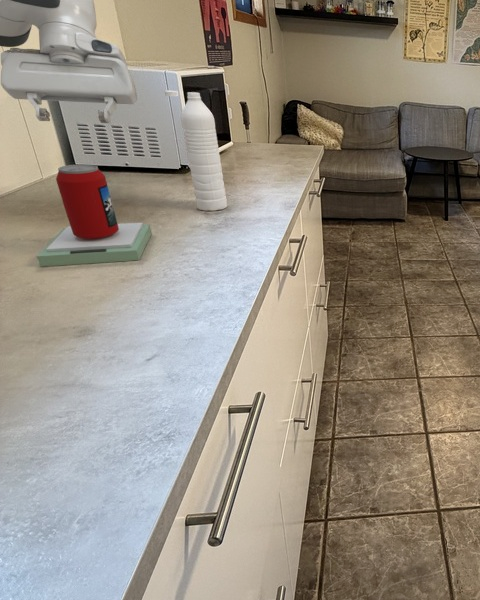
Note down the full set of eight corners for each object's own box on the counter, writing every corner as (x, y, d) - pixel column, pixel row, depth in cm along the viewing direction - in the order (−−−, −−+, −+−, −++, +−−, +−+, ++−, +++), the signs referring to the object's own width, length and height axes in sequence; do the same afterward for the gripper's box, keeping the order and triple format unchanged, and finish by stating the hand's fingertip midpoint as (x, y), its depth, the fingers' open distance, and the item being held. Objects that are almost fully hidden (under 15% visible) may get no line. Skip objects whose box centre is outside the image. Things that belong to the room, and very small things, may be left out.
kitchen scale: (40, 266, 77) (35, 252, 76) (66, 237, 89) (62, 225, 88) (139, 260, 82) (135, 246, 81) (151, 233, 94) (149, 221, 93)
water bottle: (229, 203, 114) (213, 91, 103) (224, 211, 109) (206, 94, 97) (190, 203, 113) (169, 89, 101) (183, 211, 107) (159, 91, 95)
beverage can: (127, 234, 86) (110, 168, 80) (86, 244, 80) (65, 174, 75) (107, 226, 88) (89, 161, 83) (66, 235, 83) (44, 167, 78)
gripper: (-10, 35, 83) (-6, 108, 81) (127, 46, 90) (133, 114, 89) (9, 58, 88) (12, 127, 87) (136, 67, 96) (141, 130, 94)
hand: (74, 120), depth 88 cm, fingers open, 8 cm apart
